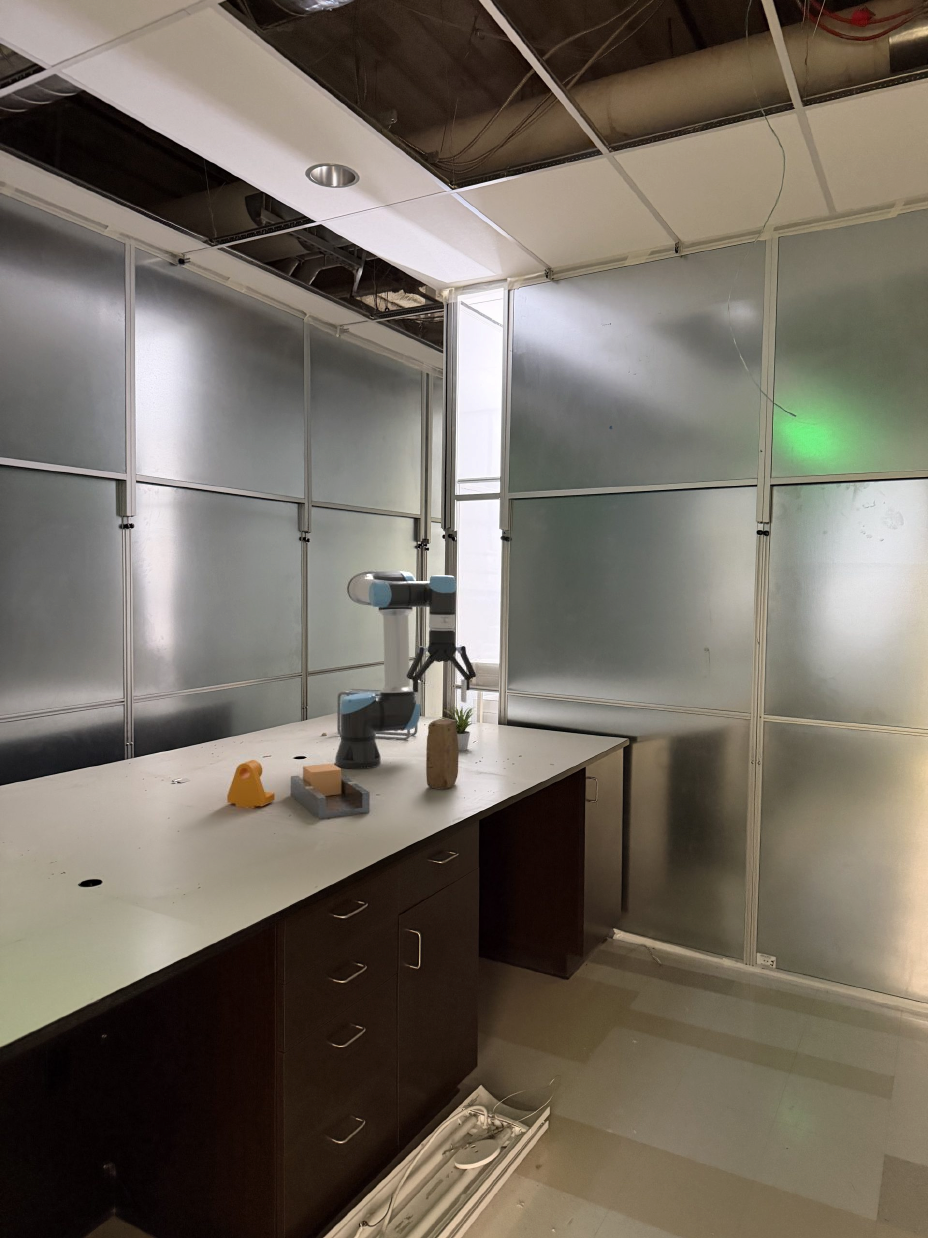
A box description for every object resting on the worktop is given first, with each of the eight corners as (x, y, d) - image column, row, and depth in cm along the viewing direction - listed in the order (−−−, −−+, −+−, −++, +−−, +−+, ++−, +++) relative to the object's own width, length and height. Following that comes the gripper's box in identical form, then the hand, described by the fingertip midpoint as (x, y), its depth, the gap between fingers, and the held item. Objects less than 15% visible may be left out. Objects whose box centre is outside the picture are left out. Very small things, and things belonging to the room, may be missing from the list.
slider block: (303, 790, 233) (303, 766, 233) (332, 787, 237) (332, 763, 237) (311, 797, 226) (311, 772, 226) (341, 794, 230) (341, 769, 230)
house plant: (457, 743, 311) (457, 700, 311) (487, 747, 303) (488, 703, 303) (434, 749, 300) (434, 704, 299) (464, 754, 292) (465, 708, 291)
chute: (290, 795, 235) (290, 775, 234) (337, 789, 241) (337, 770, 241) (318, 819, 212) (318, 797, 211) (369, 812, 218) (369, 791, 218)
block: (446, 791, 241) (447, 723, 240) (423, 788, 244) (424, 721, 243) (461, 783, 250) (462, 718, 249) (439, 780, 253) (439, 716, 252)
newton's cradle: (336, 736, 322) (337, 691, 322) (347, 731, 333) (347, 688, 332) (409, 741, 315) (409, 695, 314) (417, 736, 325) (418, 691, 324)
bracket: (276, 802, 227) (275, 759, 227) (262, 809, 220) (262, 765, 220) (242, 799, 231) (241, 756, 230) (227, 805, 224) (227, 762, 223)
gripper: (402, 630, 228) (402, 706, 229) (487, 629, 236) (486, 703, 237) (396, 628, 235) (395, 702, 236) (478, 627, 243) (477, 699, 244)
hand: (441, 702), depth 237 cm, fingers open, 13 cm apart
